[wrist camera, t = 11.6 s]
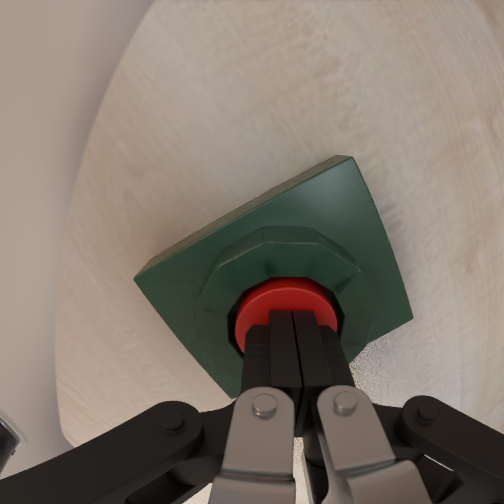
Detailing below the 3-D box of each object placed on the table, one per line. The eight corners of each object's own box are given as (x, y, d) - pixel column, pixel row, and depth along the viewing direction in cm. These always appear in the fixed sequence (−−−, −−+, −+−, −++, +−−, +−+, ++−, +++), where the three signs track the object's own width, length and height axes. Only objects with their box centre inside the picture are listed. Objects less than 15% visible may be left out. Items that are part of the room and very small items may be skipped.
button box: (234, 372, 16) (228, 425, 12) (149, 260, 14) (114, 299, 10) (397, 297, 14) (430, 340, 10) (338, 154, 12) (370, 157, 8)
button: (265, 354, 12) (265, 382, 11) (221, 292, 11) (214, 316, 10) (341, 320, 12) (351, 345, 10) (304, 249, 11) (312, 268, 9)
